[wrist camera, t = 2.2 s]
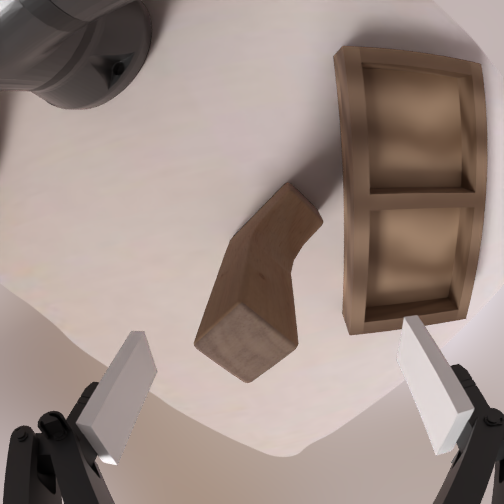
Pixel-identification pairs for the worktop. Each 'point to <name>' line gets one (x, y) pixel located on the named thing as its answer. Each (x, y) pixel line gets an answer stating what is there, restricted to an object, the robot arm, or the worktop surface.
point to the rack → (410, 185)
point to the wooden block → (258, 289)
